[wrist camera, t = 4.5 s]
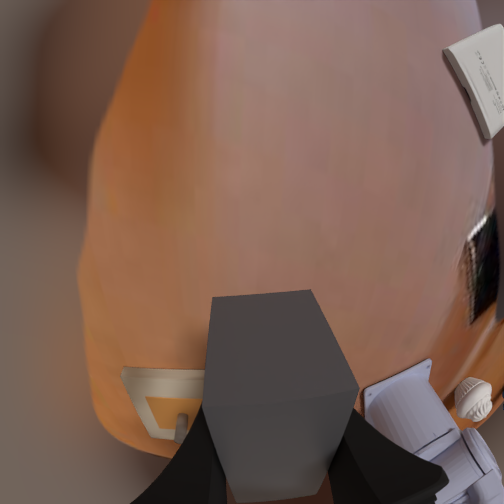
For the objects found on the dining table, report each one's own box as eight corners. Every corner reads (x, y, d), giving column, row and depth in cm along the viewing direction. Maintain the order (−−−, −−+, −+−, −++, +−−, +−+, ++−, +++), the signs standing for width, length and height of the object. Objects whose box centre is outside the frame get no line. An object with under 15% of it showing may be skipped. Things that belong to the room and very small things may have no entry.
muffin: (449, 404, 28) (469, 435, 22) (442, 393, 26) (466, 428, 20) (479, 377, 27) (502, 406, 21) (476, 362, 25) (503, 394, 19)
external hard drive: (523, 94, 14) (480, 138, 16) (491, 25, 11) (437, 50, 13) (534, 94, 12) (493, 140, 14) (501, 23, 9) (450, 46, 12)
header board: (290, 365, 21) (300, 403, 17) (283, 428, 25) (289, 460, 21) (124, 366, 20) (110, 402, 16) (152, 429, 24) (147, 459, 20)
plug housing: (212, 297, 11) (201, 406, 6) (310, 289, 11) (359, 388, 6) (233, 425, 14) (236, 503, 9) (298, 418, 14) (316, 494, 9)
